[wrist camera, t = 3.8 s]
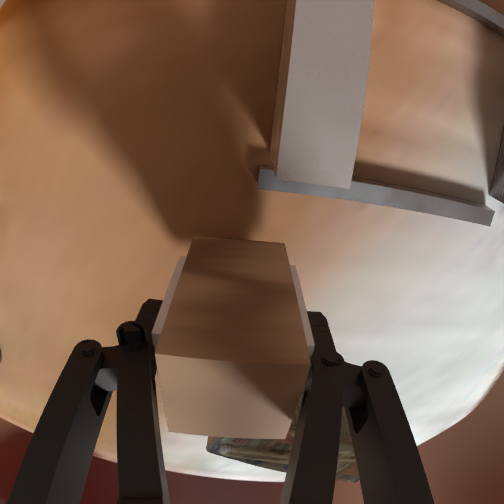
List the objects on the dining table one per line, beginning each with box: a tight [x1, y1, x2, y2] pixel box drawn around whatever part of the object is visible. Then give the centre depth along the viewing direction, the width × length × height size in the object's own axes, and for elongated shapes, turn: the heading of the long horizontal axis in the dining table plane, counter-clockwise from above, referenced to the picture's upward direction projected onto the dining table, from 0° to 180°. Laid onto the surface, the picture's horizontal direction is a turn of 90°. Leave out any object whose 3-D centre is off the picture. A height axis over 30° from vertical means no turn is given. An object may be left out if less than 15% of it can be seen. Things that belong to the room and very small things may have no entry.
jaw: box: [270, 0, 374, 189], centre depth 13 cm, size 3×12×7 cm, turn 174°
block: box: [155, 236, 311, 439], centre depth 15 cm, size 5×5×9 cm
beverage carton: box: [206, 388, 360, 482], centre depth 27 cm, size 8×19×7 cm, turn 60°
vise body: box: [258, 0, 504, 226], centre depth 13 cm, size 20×16×7 cm
